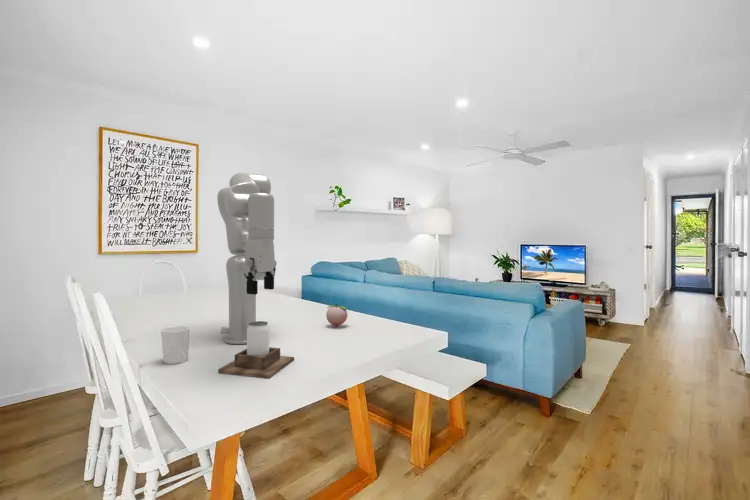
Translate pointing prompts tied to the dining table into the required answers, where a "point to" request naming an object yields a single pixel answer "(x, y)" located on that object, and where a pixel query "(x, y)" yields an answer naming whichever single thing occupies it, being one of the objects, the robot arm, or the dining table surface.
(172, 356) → the white cup
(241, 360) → the box
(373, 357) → the dining table surface
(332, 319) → the decorative fruit
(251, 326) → the can
